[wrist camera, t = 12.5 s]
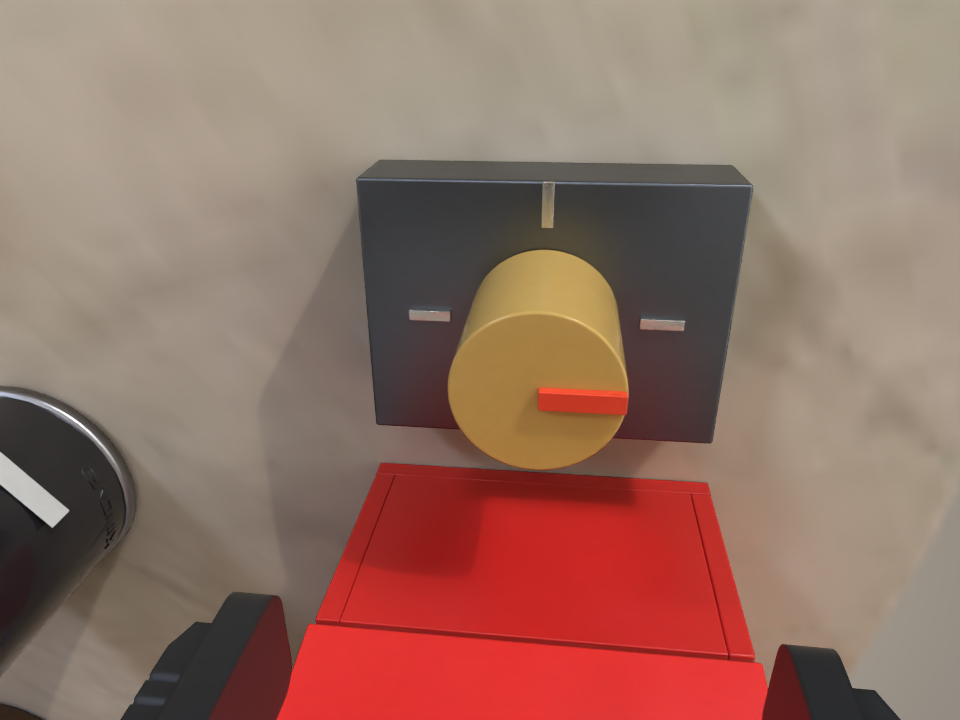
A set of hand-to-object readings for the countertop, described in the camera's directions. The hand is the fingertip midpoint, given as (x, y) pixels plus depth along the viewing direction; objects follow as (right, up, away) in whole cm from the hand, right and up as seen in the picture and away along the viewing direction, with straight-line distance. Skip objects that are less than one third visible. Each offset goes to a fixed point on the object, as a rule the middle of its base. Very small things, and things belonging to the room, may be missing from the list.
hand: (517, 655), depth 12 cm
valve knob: (+2, +6, +12) cm, 14 cm away
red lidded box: (+2, -7, +22) cm, 23 cm away
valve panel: (+2, +7, +15) cm, 17 cm away
